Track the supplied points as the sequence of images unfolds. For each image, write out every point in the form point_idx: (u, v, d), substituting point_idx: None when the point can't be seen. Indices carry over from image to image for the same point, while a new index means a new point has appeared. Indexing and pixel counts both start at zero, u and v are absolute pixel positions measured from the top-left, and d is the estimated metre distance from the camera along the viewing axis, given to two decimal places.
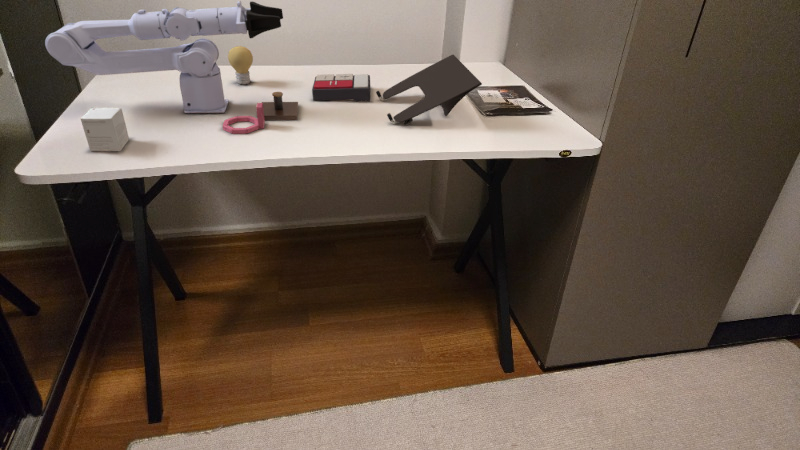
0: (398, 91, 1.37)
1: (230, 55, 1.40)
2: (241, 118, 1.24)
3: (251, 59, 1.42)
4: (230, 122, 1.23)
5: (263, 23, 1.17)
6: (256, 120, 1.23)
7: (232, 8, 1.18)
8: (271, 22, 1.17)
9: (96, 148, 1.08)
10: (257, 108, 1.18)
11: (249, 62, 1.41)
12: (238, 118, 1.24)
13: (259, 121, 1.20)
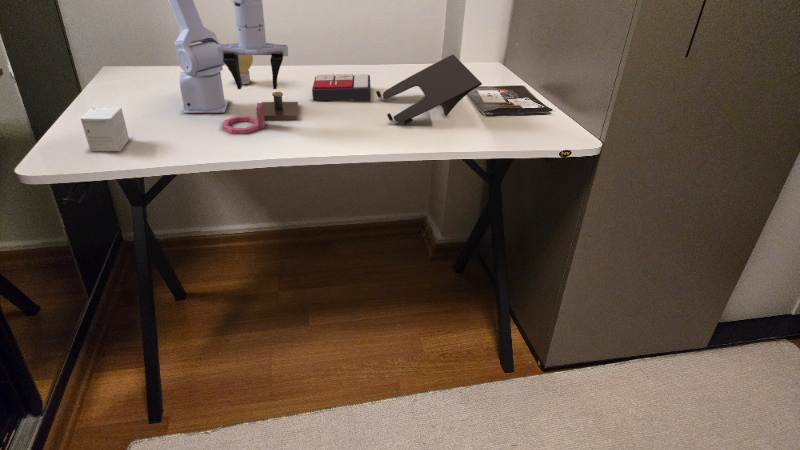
0: (398, 91, 1.37)
1: None
2: (241, 118, 1.24)
3: (251, 59, 1.42)
4: (230, 122, 1.23)
5: None
6: (256, 120, 1.23)
7: (247, 43, 1.09)
8: None
9: (96, 148, 1.08)
10: (257, 108, 1.18)
11: (249, 62, 1.41)
12: (238, 118, 1.24)
13: (259, 121, 1.20)
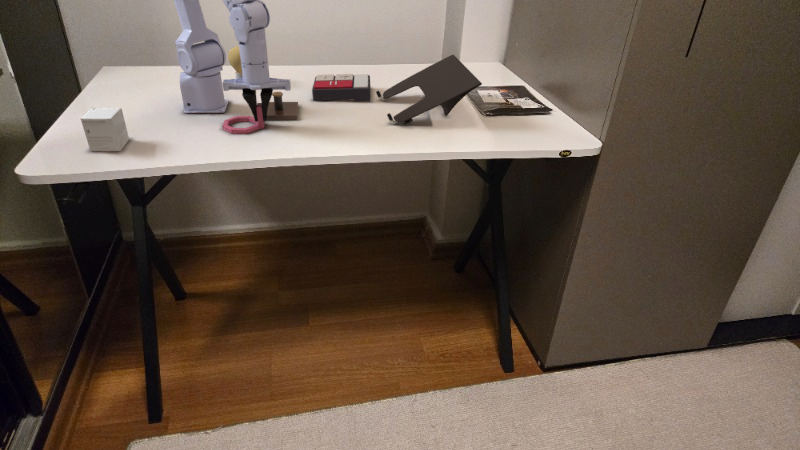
0: (398, 91, 1.37)
1: (230, 55, 1.40)
2: (241, 118, 1.24)
3: None
4: (230, 122, 1.23)
5: None
6: None
7: (251, 79, 1.13)
8: None
9: (96, 148, 1.08)
10: (257, 108, 1.18)
11: None
12: (238, 118, 1.24)
13: (259, 121, 1.20)
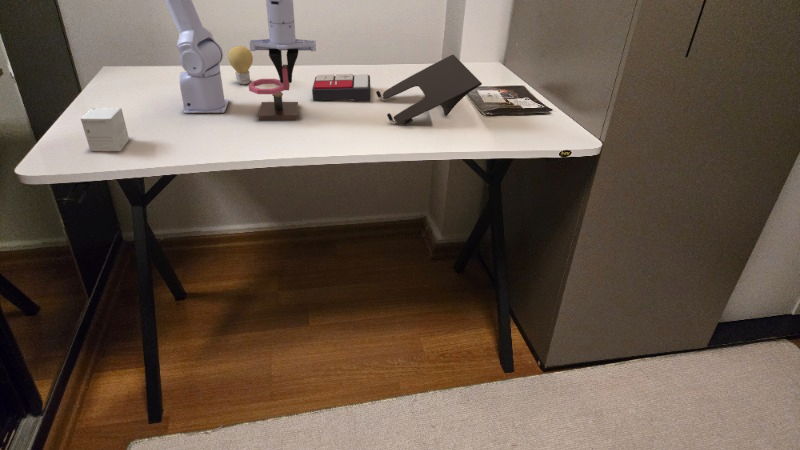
0: (398, 91, 1.37)
1: (230, 55, 1.40)
2: (266, 81, 1.26)
3: (251, 59, 1.42)
4: (255, 84, 1.24)
5: None
6: None
7: (278, 39, 1.15)
8: None
9: (96, 148, 1.08)
10: (283, 69, 1.20)
11: (249, 62, 1.41)
12: (263, 80, 1.25)
13: (284, 82, 1.22)
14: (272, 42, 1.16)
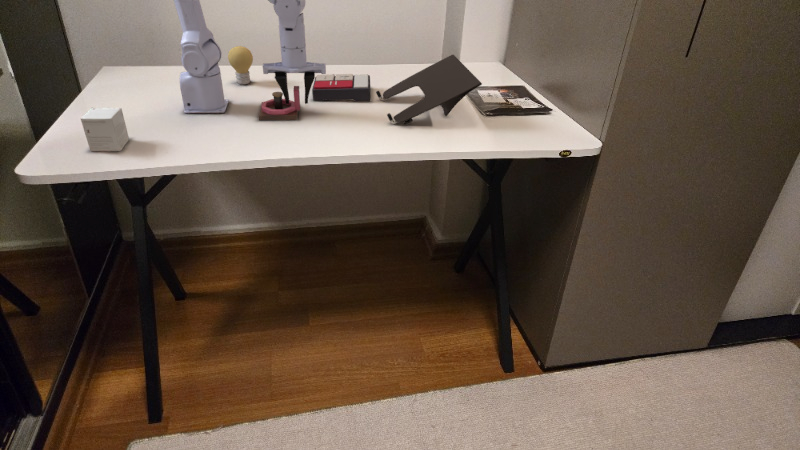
0: (398, 91, 1.37)
1: (230, 55, 1.40)
2: None
3: (251, 59, 1.42)
4: (267, 104, 1.29)
5: None
6: (292, 102, 1.30)
7: (290, 63, 1.20)
8: None
9: (96, 148, 1.08)
10: (294, 90, 1.25)
11: (249, 62, 1.41)
12: None
13: (295, 103, 1.27)
14: (284, 66, 1.21)
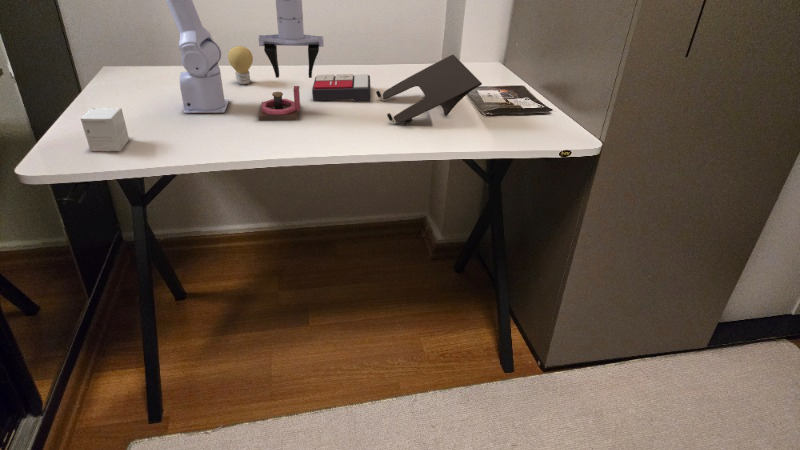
0: (398, 91, 1.37)
1: (230, 55, 1.40)
2: None
3: (251, 59, 1.42)
4: (267, 104, 1.29)
5: None
6: (292, 102, 1.30)
7: (287, 34, 1.17)
8: None
9: (96, 148, 1.08)
10: (294, 90, 1.25)
11: (249, 62, 1.41)
12: None
13: (295, 103, 1.27)
14: (281, 37, 1.18)
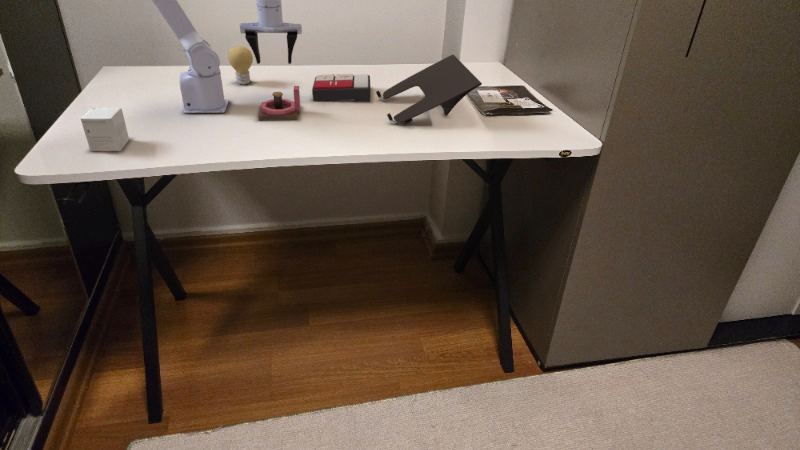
0: (398, 91, 1.37)
1: (230, 55, 1.40)
2: None
3: (251, 59, 1.42)
4: (267, 104, 1.29)
5: None
6: (292, 102, 1.30)
7: (266, 21, 1.24)
8: None
9: (96, 148, 1.08)
10: (294, 90, 1.25)
11: (249, 62, 1.41)
12: None
13: (295, 103, 1.27)
14: (261, 25, 1.25)
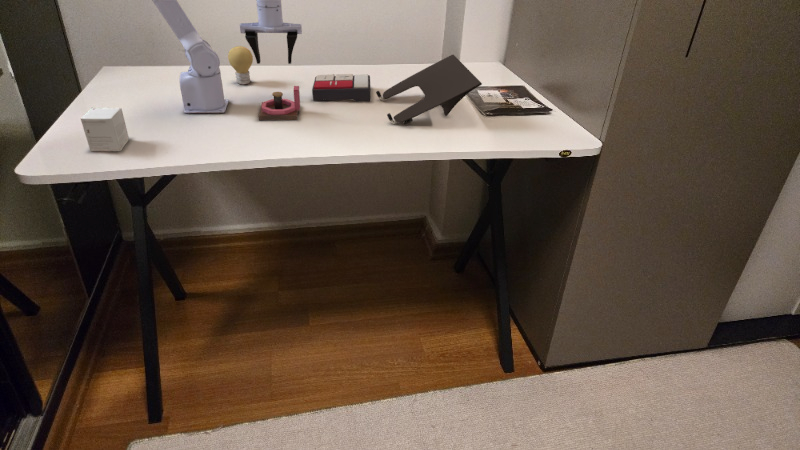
0: (398, 91, 1.37)
1: (230, 55, 1.40)
2: None
3: (251, 59, 1.42)
4: (267, 104, 1.29)
5: None
6: (292, 102, 1.30)
7: (266, 21, 1.24)
8: None
9: (96, 148, 1.08)
10: (294, 90, 1.25)
11: (249, 62, 1.41)
12: None
13: (295, 103, 1.27)
14: (261, 25, 1.25)
